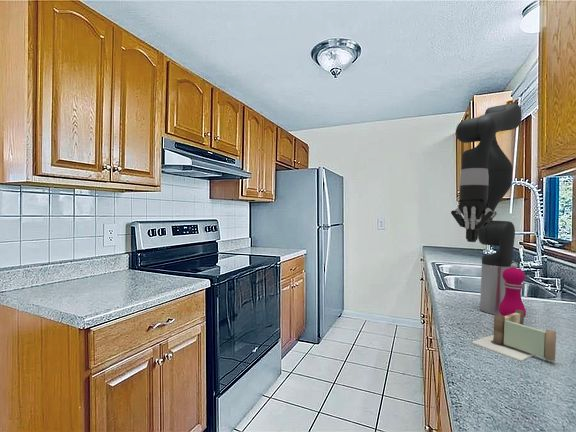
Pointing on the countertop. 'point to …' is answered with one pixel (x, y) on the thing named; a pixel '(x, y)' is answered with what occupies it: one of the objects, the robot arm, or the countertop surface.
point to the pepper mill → (512, 291)
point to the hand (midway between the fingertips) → (471, 241)
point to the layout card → (502, 348)
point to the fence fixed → (500, 322)
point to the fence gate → (530, 340)
